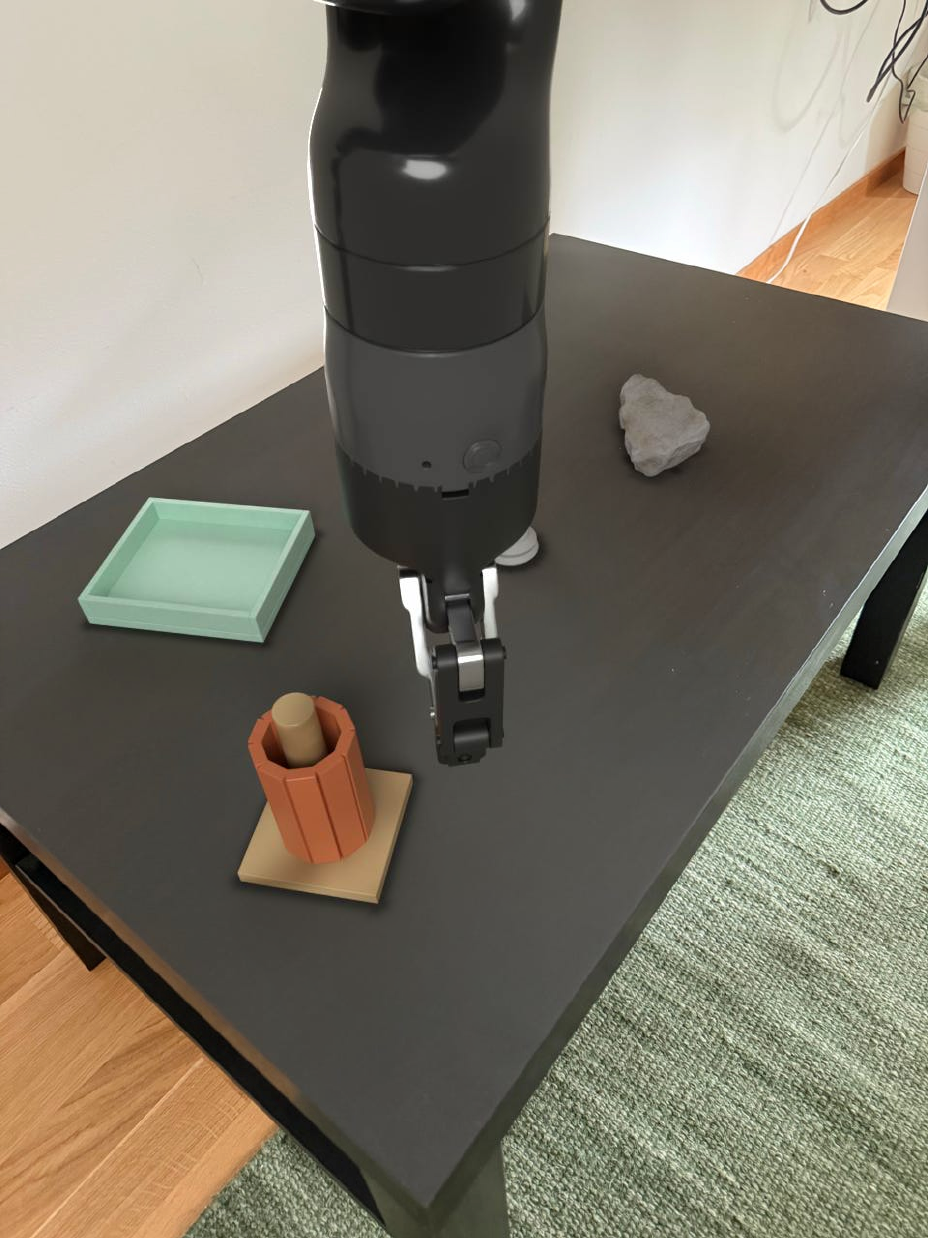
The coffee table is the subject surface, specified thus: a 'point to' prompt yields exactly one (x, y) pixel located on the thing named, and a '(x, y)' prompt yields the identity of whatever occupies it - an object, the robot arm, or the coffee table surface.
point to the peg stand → (350, 875)
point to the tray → (200, 569)
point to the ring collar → (317, 788)
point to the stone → (659, 425)
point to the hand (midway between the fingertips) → (446, 682)
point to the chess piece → (520, 550)
